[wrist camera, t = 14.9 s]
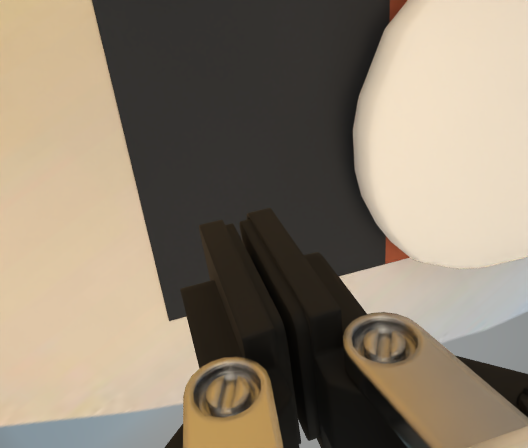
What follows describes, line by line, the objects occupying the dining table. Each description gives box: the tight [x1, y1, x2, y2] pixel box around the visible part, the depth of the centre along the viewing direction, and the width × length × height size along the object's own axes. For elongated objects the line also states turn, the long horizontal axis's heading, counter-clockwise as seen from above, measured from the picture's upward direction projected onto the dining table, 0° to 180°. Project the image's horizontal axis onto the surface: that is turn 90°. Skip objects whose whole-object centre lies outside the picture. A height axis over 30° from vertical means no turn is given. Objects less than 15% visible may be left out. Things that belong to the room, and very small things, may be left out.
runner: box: [92, 0, 410, 321], centre depth 40 cm, size 25×40×1 cm, turn 96°
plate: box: [353, 0, 528, 269], centre depth 39 cm, size 28×6×27 cm
